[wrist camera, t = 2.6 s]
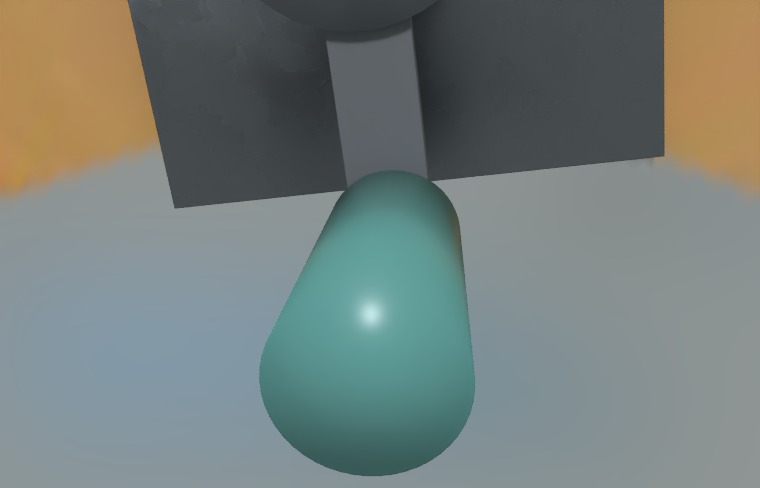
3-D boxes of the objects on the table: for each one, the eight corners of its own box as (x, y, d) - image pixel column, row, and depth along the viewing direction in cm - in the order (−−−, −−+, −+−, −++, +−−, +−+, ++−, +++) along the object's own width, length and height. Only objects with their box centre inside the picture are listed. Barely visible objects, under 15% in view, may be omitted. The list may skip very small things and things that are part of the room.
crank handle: (293, 275, 25) (182, 488, 14) (201, -246, 20) (-81, -539, 9) (521, 254, 24) (591, 463, 13) (483, -297, 19) (542, -688, 8)
